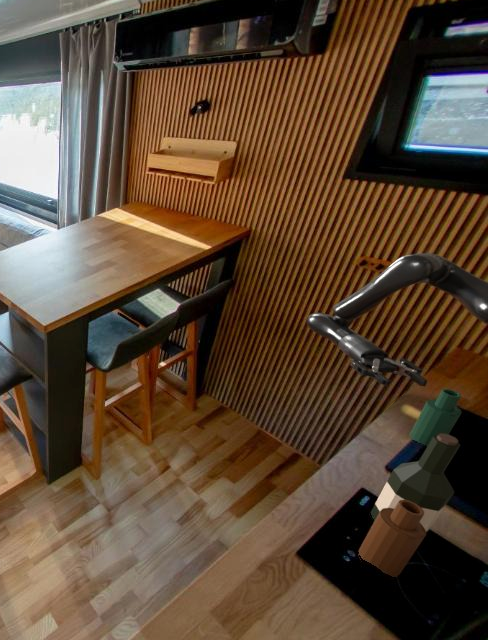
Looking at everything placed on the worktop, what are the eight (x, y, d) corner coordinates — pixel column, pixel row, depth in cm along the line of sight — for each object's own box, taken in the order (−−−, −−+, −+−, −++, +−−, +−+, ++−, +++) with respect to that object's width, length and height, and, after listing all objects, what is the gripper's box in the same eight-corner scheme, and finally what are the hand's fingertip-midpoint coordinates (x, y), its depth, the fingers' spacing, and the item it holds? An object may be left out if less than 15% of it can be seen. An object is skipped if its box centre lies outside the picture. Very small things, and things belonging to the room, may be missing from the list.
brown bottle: (388, 552, 81) (421, 497, 73) (406, 582, 76) (444, 526, 68) (352, 544, 83) (381, 489, 75) (367, 573, 79) (400, 518, 70)
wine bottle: (369, 527, 86) (416, 441, 73) (369, 501, 91) (414, 415, 78) (425, 553, 80) (487, 463, 67) (422, 523, 85) (480, 434, 72)
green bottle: (431, 434, 103) (458, 386, 95) (447, 450, 98) (476, 402, 91) (404, 430, 105) (428, 384, 98) (418, 446, 100) (444, 398, 93)
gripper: (338, 341, 120) (380, 374, 106) (392, 340, 117) (442, 374, 102) (332, 359, 123) (372, 393, 109) (384, 358, 120) (432, 393, 106)
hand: (406, 383), depth 106 cm, fingers open, 8 cm apart
